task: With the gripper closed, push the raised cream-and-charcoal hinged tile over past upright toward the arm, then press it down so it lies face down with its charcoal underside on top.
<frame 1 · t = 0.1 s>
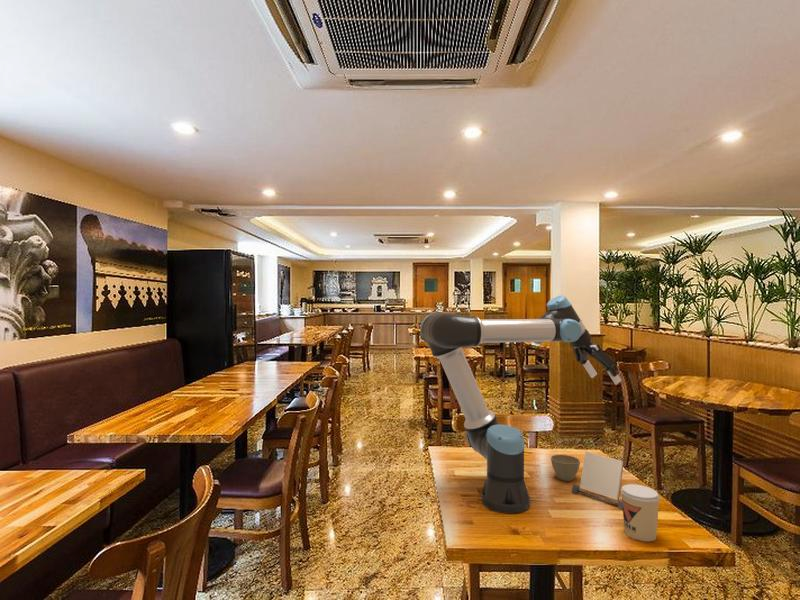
hand: (605, 379, 163), 36 cm above the table, tool tilted 35°, fingers open, 13 cm apart
flower pot: (565, 479, 159), on the table
tile: (601, 474, 143), point 8 cm above the table, hinge at 70.0°
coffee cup: (640, 534, 120), on the table
hinge bracket: (598, 500, 141), on the table
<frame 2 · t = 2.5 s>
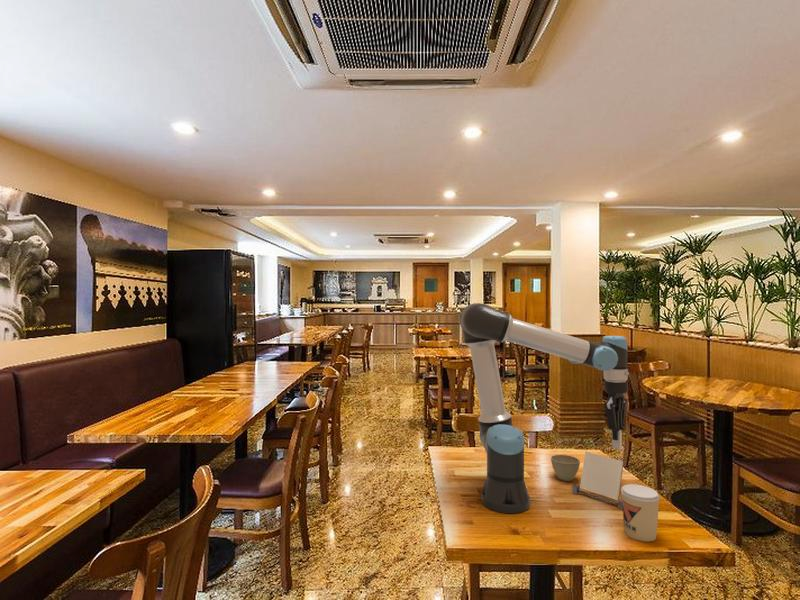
hand: (616, 448, 151), 14 cm above the table, tool pointing down, fingers closed
nothing on the table moved.
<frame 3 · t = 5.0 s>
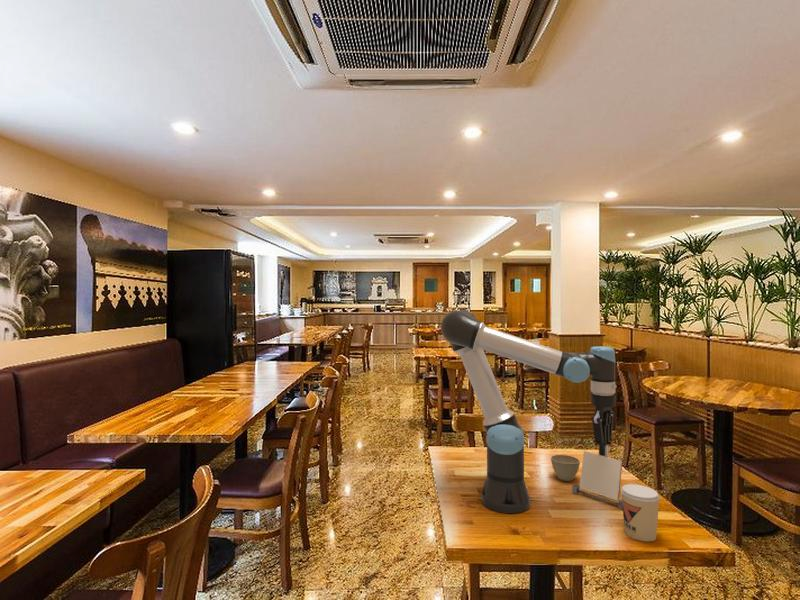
hand: (603, 463, 145), 11 cm above the table, tool pointing down, fingers closed
tile: (600, 474, 143), point 8 cm above the table, hinge at 74.9°, touching gripper
everything else where it was.
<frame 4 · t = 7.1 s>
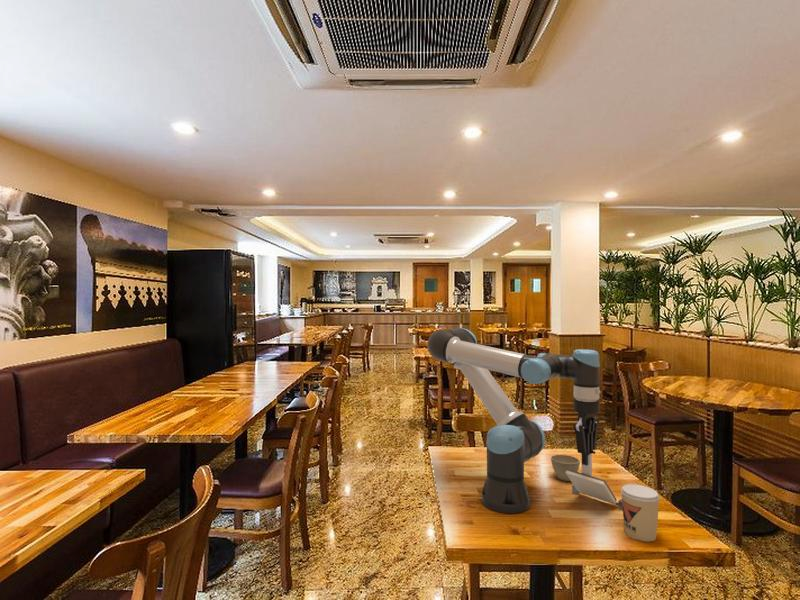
hand: (586, 474, 136), 10 cm above the table, tool pointing down, fingers closed
tile: (590, 486, 138), point 6 cm above the table, hinge at 135.1°, touching gripper
everything else where it was.
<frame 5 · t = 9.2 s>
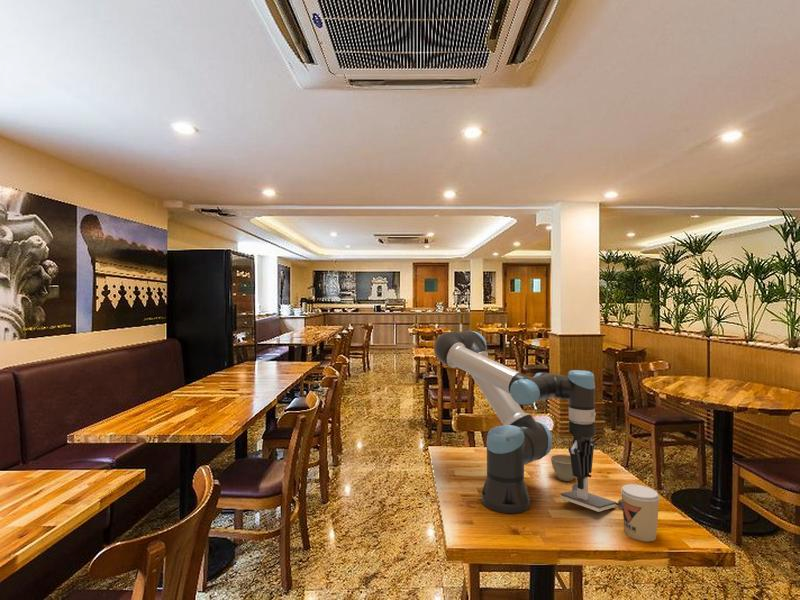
hand: (582, 498, 134), 4 cm above the table, tool pointing down, fingers closed
tile: (588, 500, 137), point 2 cm above the table, hinge at 169.6°, touching gripper
everything else where it was.
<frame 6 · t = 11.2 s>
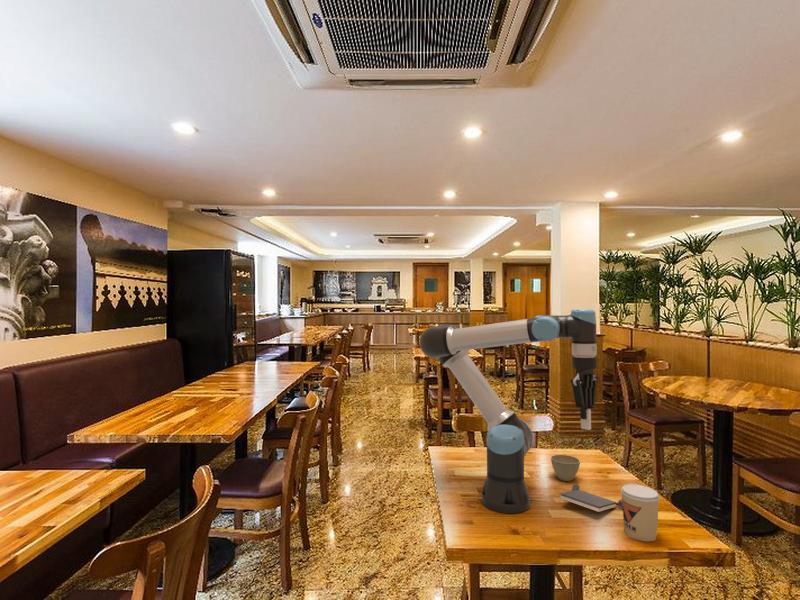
hand: (586, 428, 142), 23 cm above the table, tool pointing down, fingers closed
tile: (588, 500, 137), point 2 cm above the table, hinge at 169.6°
everything else where it was.
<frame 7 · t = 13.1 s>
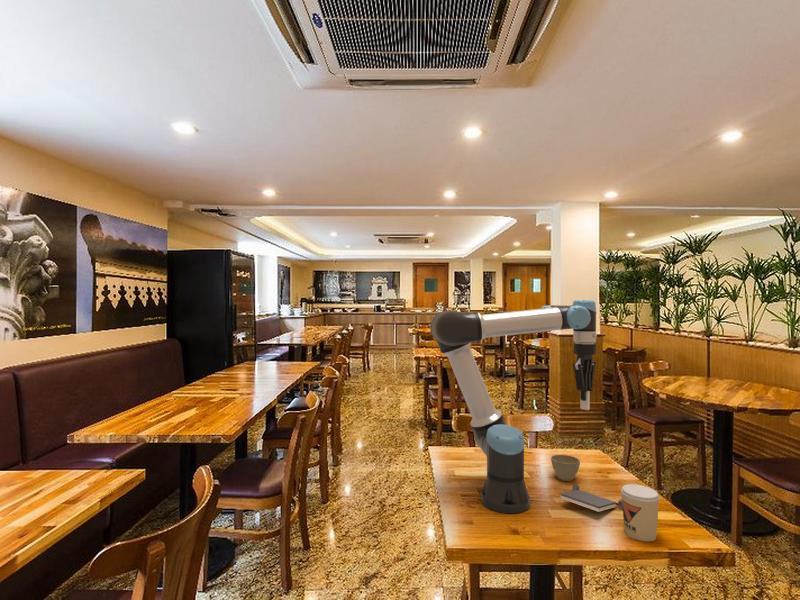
hand: (585, 409, 155), 26 cm above the table, tool pointing down, fingers closed
nothing on the table moved.
at the end: tile at +170° (first picture: +70°) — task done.
